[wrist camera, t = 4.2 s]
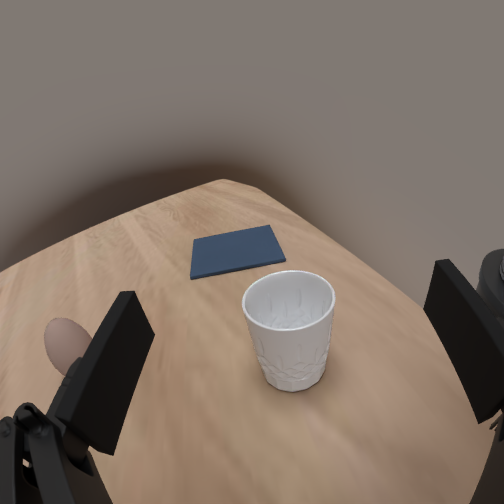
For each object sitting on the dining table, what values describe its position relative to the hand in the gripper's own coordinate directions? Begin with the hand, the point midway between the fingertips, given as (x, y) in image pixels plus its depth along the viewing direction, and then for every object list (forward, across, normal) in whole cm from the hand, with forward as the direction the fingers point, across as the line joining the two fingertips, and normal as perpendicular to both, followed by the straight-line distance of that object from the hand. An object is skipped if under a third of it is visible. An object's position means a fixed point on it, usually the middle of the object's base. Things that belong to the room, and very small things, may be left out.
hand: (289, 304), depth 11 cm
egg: (+8, -26, -18) cm, 33 cm away
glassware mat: (+37, -9, -17) cm, 41 cm away
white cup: (+10, 0, -18) cm, 20 cm away
